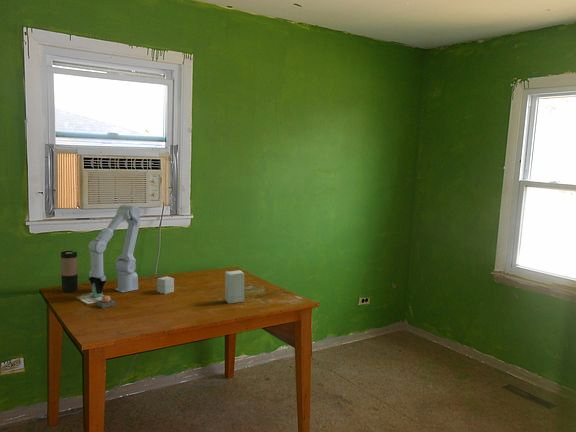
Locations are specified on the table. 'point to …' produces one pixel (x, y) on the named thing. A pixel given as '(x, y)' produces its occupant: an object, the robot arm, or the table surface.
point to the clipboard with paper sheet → (89, 298)
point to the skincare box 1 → (165, 285)
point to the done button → (105, 299)
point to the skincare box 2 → (234, 286)
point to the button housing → (103, 305)
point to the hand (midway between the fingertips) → (97, 292)
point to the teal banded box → (94, 292)
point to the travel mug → (69, 271)
